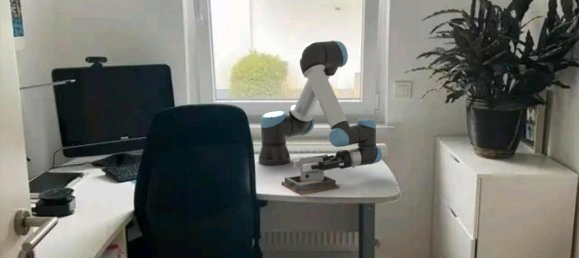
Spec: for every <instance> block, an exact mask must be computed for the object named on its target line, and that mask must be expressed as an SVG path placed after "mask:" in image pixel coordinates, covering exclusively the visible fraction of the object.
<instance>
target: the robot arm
mask: <svg viewBox="0 0 579 258" xmlns="http://www.w3.org/2000/svg"><path fill="white" fill-rule="evenodd" d="M348 58H349V54H348V49H347V47H346V46H345V44H344V43H343V42H342V41H339V40H328V41H327V40H325V41H312V42H309V43H307V44H306V45H304V47H303V48H302V49H301V52H300V55H299V67H300V70H301V73H302V75H303V77H304V78H306V79H307V80H306V82H305V84H304V86H303V88H302V91H301V93H300V94H299V97H298V99H297V101H296V103H295V104H293V105H291V107H290V108H289V111H288V112H287V113H286V112H285V111H281V110H276V111H270V112H266V113H264V114H263V115H261V118H260V128H261V129H260V130H261V131H260V132H261V133H260V134H261V146H260V147H261V148H260V151H259V153H258V154H259V155H258V163H259V164H260V165H265V166H267V165H268V166H281V165H286V164H288V163H290V162H291V155H290V152H289V149H288V146H287V139H288V138H294V137H300V136H305V135H308V134H310V133H311V132H312V131H313V129H314V127H315V126H314V125H315V122H314V121H315V118H314V113H313V111H314V109H315V107H316V106H317V103H318V104H319V106H320V108H321V111H322V113H323V115H324V117H325V119H326V121H327V124H328V126H329V127H330V132H329V134H328V137H329V143H330V144H331V145H332V146H333V147H335V148H336V147H337V148H342V147H348V146H352V145H356V144H357V147H355V148H348V149H341V150H338V151H337V152H336V153H335V155H334V154H331V155H329V154H323V155H315V156H314V155H313V156H312V157H322V158H323V162H321V161H319V164H318V163H310V164H304V165H303V172H306V171H312V170H318V169H319V170H321V169H323V170H324V171H328V170H335V169H338V168H339V169H342V170H344V169H348V168H352V169H353V168H355V167H360V166H367V165H373V164H377V163H379V162H380V161H381V160H382V158H383V152H382V149H381V147H380V146H378V145H377V123H376V120H375V119H374V118H369V117H368V118H367V117H363V118H358V120H357V124H356V125H350V124H349V121H348V119H347V117H346V115H345V113H344V111H343V108H342V107H341V106H342V105H341V104H340V102H339V99H338V98H337V96H336V94H335V91H334V89H333V87H332V84H331V83H330V81H329V80H330V78H331V77H333V76H335V74H336V73H337V71H338V69H339V68H343V67H344V66H346V64H347V63H348ZM309 157H310V156H307V157H305V158H309ZM293 168H295V169H296V168H300V159H297V160H293Z"/></svg>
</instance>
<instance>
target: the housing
mask: <svg viewBox="0 0 579 258" xmlns="http://www.w3.org/2000/svg"><path fill="white" fill-rule="evenodd" d="M300 177H301V175H300V174H299V175H295V176H289V177H288V176H287V177H286V176H285V177H284V181H281V185H282V186H284V187H286V188H287V189H289V190H292V191H293V192H295V193H297V194H299V195H301V196H303V195H310V194H315V193H320V192H327V191H331V190H337V189H340V185H339V184H337V181H336V180H335V179H333V178H331V177H329V176H326V175H324V179H323V180H322V181H301V180H300ZM306 177H308V175H306Z"/></svg>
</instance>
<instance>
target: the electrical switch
mask: <svg viewBox="0 0 579 258" xmlns="http://www.w3.org/2000/svg"><path fill="white" fill-rule="evenodd" d="M308 157H309V158H306V157H300V158H299V160H300V167H299V170H300V172H299V175H301V177H300V180H301V181H322V180H323V179H324V176H325V175H324V174H325V173H324V171H325V170H323V169H321V170H319V169H318V170H312V171H306V172H303V165H304V164H310V163H318V164H319V161H321V162H323V158H322V157H313V156H308ZM306 175H308V177H306Z"/></svg>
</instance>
